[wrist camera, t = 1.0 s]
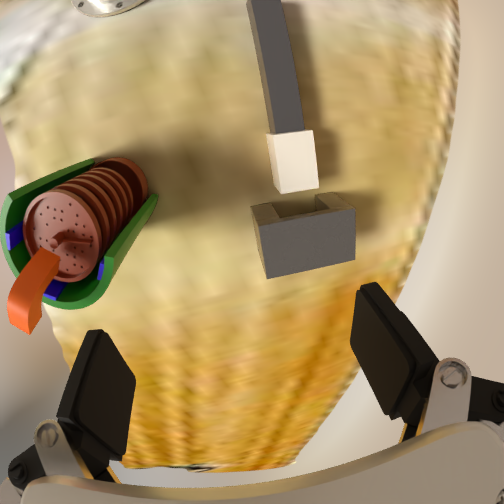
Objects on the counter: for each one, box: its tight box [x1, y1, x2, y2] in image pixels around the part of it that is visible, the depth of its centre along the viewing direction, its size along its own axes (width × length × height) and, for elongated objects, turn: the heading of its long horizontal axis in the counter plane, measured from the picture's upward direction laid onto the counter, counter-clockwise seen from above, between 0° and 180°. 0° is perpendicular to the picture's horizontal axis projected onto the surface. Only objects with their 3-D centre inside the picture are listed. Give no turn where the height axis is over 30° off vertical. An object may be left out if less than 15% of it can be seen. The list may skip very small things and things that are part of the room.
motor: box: [0, 157, 158, 335], centre depth 20 cm, size 10×9×20 cm
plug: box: [246, 0, 319, 194], centre depth 24 cm, size 22×4×4 cm, turn 9°
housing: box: [251, 192, 356, 279], centre depth 31 cm, size 6×10×6 cm, turn 100°
